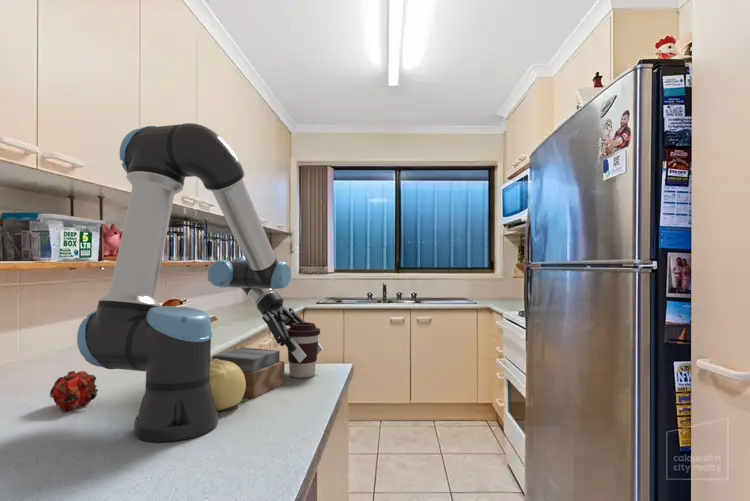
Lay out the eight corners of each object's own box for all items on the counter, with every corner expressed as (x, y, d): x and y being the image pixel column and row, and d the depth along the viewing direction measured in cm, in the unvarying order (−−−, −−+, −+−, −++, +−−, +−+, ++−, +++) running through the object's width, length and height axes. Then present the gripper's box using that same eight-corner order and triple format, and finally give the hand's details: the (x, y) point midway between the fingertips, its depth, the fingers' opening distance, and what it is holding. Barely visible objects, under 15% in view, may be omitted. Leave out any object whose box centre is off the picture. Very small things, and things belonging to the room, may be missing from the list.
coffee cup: (301, 381, 121) (302, 327, 122) (277, 375, 127) (278, 323, 128) (326, 374, 129) (327, 323, 130) (302, 369, 135) (303, 320, 136)
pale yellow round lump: (181, 405, 100) (183, 358, 100) (233, 396, 108) (234, 351, 108) (198, 419, 91) (200, 367, 92) (253, 408, 99) (254, 360, 99)
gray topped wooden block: (253, 398, 106) (254, 361, 106) (206, 392, 110) (206, 356, 111) (284, 383, 119) (284, 350, 119) (240, 378, 123) (241, 346, 124)
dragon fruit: (82, 405, 104) (73, 430, 94) (47, 388, 101) (33, 412, 90) (107, 375, 106) (101, 396, 95) (73, 357, 102) (62, 377, 91)
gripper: (278, 304, 145) (321, 356, 139) (235, 310, 123) (283, 372, 118) (293, 288, 143) (336, 340, 137) (251, 292, 122) (301, 354, 116)
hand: (311, 355), depth 127 cm, fingers closed on coffee cup, 10 cm apart
